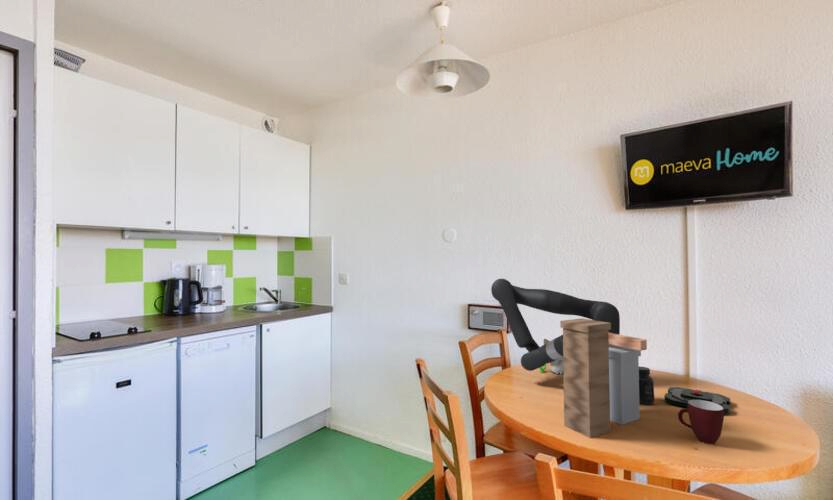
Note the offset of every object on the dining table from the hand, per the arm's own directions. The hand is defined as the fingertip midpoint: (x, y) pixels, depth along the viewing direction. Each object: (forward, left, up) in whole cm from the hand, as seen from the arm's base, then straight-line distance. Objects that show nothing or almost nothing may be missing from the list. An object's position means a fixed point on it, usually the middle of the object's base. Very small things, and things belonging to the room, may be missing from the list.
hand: (595, 331), depth 129 cm
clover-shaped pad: (-38, -1, -27) cm, 46 cm away
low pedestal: (-3, +7, -26) cm, 27 cm away
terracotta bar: (-2, +5, -3) cm, 6 cm away
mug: (-17, +24, -27) cm, 39 cm away
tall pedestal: (+11, +14, -26) cm, 32 cm away
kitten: (-5, -41, -27) cm, 49 cm away
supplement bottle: (-20, -4, -27) cm, 33 cm away
